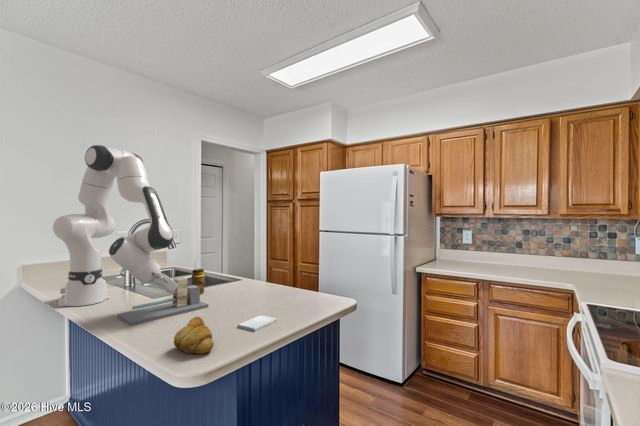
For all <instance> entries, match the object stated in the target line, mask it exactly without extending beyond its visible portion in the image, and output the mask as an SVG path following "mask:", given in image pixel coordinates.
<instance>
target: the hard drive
mask: <svg viewBox="0 0 640 426" xmlns="http://www.w3.org/2000/svg"><path fill="white" fill-rule="evenodd" d="M277 321H278V318H276V317H273V316H272V317H271V316H267V315H262V314H261V315H258V316H256V317H253V318H250V319H248V320H246V321H242V322H241V323H239V324H237V325H236V328H238V329H243V330H246V331H249V330H250V331H249V332H254V331H256V332H258V331H259V329H260V330H262V329H264V328H266V327H268V326H270V325H272V324H274V323H276V322H277ZM273 322H274V323H273ZM271 323H272V324H271ZM267 325H268V326H267ZM265 326H266V327H265ZM263 327H264V328H263ZM261 328H262V329H261ZM257 330H258V331H257Z"/></svg>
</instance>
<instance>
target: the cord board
mask: <svg viewBox="0 0 640 426" xmlns="http://www.w3.org/2000/svg"><path fill="white" fill-rule="evenodd" d="M200 296H201V295H200V287H199V286H195V285H192V284H191V285H187V305H185V306H180V307H176V306H174V305H173V301H177V298H173V297H172V298H169V299H164V300H158V301H154V302H153V301H152V302H148V303H142V304H138V305H134V306H133V305H132V307H131V309H132V310H129V311H125V312H120V313H117V314H116V318H118V319H119V320H121V321H122V322H124V323H125V324H127V325H128V326H130V327H132V326H136V325H140V324H144V323H148V322H153V321H157V320H160V319H165V318H170V317H172V316H179V315H181V314H186V313H189V312H194V311H197V310H198V311H199V310H202V309H207V308H209V303H207V302H203V301H200V300H201V299H200V298H201V297H200Z"/></svg>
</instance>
